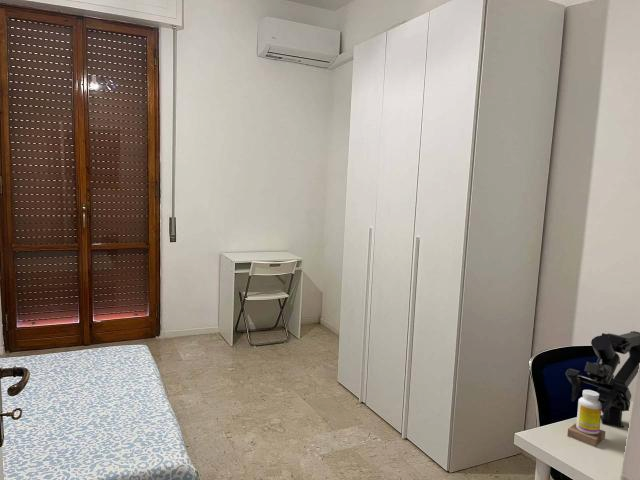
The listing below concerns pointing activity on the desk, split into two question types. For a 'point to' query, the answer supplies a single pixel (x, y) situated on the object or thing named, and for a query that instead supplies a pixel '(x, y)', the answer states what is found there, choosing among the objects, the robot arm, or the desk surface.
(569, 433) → the walnut plinth
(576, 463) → the desk surface
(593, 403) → the supplement bottle
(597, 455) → the desk surface
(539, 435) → the desk surface
